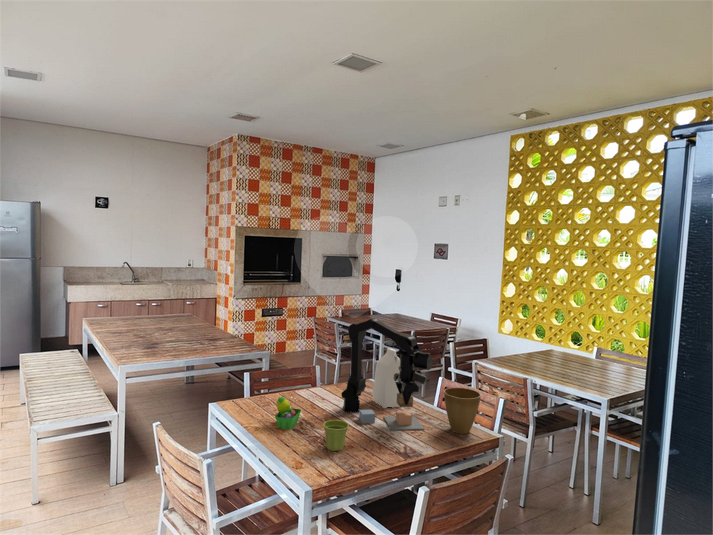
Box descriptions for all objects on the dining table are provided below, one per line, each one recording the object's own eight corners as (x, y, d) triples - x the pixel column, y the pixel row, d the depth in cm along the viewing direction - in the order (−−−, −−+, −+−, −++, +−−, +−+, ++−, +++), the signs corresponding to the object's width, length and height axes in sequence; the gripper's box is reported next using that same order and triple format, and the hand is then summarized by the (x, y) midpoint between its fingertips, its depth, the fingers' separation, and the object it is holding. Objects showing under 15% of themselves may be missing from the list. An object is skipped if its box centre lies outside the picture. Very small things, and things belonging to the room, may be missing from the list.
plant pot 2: (448, 421, 206) (451, 385, 206) (482, 429, 199) (485, 391, 198) (436, 431, 194) (438, 393, 193) (472, 440, 186) (474, 400, 185)
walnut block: (412, 406, 198) (413, 397, 198) (400, 407, 197) (400, 397, 197) (408, 402, 203) (409, 393, 203) (396, 402, 202) (396, 393, 202)
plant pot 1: (316, 449, 170) (318, 425, 170) (330, 440, 179) (331, 417, 178) (339, 455, 166) (340, 431, 166) (352, 446, 174) (353, 423, 174)
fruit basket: (292, 431, 186) (293, 402, 185) (270, 428, 188) (272, 400, 187) (301, 421, 197) (302, 394, 197) (281, 418, 199) (282, 392, 198)
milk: (372, 400, 230) (375, 347, 229) (393, 398, 235) (396, 346, 234) (384, 408, 219) (387, 352, 218) (405, 406, 224) (408, 351, 223)
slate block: (362, 423, 198) (362, 414, 198) (359, 418, 204) (359, 409, 204) (374, 423, 200) (375, 413, 200) (371, 418, 205) (371, 409, 205)
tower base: (391, 430, 192) (391, 419, 192) (383, 418, 206) (384, 407, 206) (424, 430, 195) (425, 419, 194) (414, 417, 208) (415, 407, 208)
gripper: (432, 371, 192) (429, 409, 192) (418, 360, 210) (416, 395, 211) (405, 371, 190) (403, 409, 190) (394, 360, 208) (392, 395, 209)
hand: (404, 402), depth 200 cm, fingers closed on walnut block, 5 cm apart
